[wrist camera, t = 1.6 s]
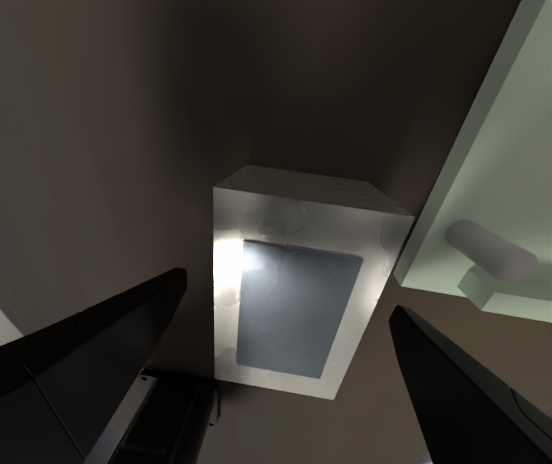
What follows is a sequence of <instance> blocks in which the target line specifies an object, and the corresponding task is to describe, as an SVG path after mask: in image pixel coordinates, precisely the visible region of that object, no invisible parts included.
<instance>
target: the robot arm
mask: <svg viewBox="0 0 552 464" xmlns="http://www.w3.org/2000/svg"><path fill="white" fill-rule="evenodd" d="M186 288H187V271H186V269H184V268H177V267H176V268H174V269H171V270H169V271H167V272H165V273H163V274H161V275H158V276H156V277H154V278H152V279H150V280H148V281H146V282H143V283H141V284H139V285H137V286H135V287H133V288H130V289H128V290H126V291H124V292H122V293H120V294H118V295H115V296H113V297H111V298H109V299H107V300H105V301H102V302H100V303H98V304H96V305H94V306H92V307H89V308H87V309H85V310H83V311H82V312H79V313H76V314H74V315H72V316H70V317H68V318H66V319H63V320H61V321H59V322H57V323H54V324H52V325H50V326H48V327H46V328H43V329H41V330H38V331H36V332H34V333H31V334H29V335H26V336H24V337H22V338H19V339H17V340H14V341H12V342H10V343H7V344H5V345H2V346H0V464H84V460H86V458H87V457H88V455H89V454H90V452H91V450H92V449H93V447H94V446H95V444H96V442H97V441H98V439H99V437H100V436H101V434H102V433H103V431H104V429H105V428H106V426H107V424H108V423H109V421H110V420H111V418H112V416H113V415H114V413H115V411H116V410H117V408H118V407H119V405H120V403H121V402H122V400H123V398H124V397H125V395H126V394H127V392H128V390H129V389H130V387H131V385H132V384H133V382H134V381H135V379H136V377H137V376H138V374H139V372H140V371H141V369H142V368H143V366H144V364H145V363H146V361H147V359H148V358H149V356H150V355H151V353H152V351H153V350H154V348H155V346H156V345H157V343H158V342H159V340H160V338H161V337H162V335H163V333H164V332H165V330H166V329H167V327H168V325H169V324H170V322H171V320H172V318H173V316H174V314H175V312H176V310H177V308H178V305H179V303H180V301H181V299H182V297H183V295H184V293H185V291H186ZM389 326H390V331H391V335H392V339H393V343H394V347H395V352H396V356H397V360H398V363H399V366H400V369H401V372H402V375H403V378H404V381H405V384H406V387H407V390H408V393H409V395H410V398H411V401H412V404H413V407H414V410H415V413H416V416H417V419H418V422H419V425H420V428H421V430H422V433H423V436H424V439H425V442H426V445H427V448H428V451H429V454H430V457H431V460H432V462H433V464H552V419H551V418H550V417H549V416H547V415H546V414H545V413H543V412H542V411H541V410H539V409H538V408H537V407H536V406H534V405H533V404H532V403H530V402H529V401H528V400H526V399H525V398H524V397H523V396H521V395H520V394H519V393H518V392H516V391H515V390H514V389H512V388H510V387H509V386H508V385H507V384H506V383H505V382H504V381H502V380H501V379H500V378H498V377H497V376H496V375H495V374H493V373H492V372H491V371H489V370H488V369H487V368H486V367H484V366H483V365H482V364H481V363H479V362H478V361H477V360H475V359H474V358H473V357H472V356H470V355H469V354H468V353H467V352H465V351H464V350H463V349H461V348H460V347H459V346H458V345H456V344H455V343H454V342H453V341H451V340H450V339H449V338H447V337H446V336H445V335H444V334H442V333H441V332H440V331H439V330H437V329H436V328H435V327H433V326H432V325H431V324H430V323H428V322H427V321H426V320H425V319H423V318H422V317H421V316H419V315H418V314H417V313H416V312H414V311H413V310H412V309H411V308H409V307H407V306H402V305H397V306H396V307H395V309H394V311H393V313H392V315H391V316H390V319H389ZM138 379H139V383H140V387H141V390H142V394H143V398H144V399H143V401H142V403H141V404H140V406H139V408H138V410H137V411H136V413H135V415H134V417H133V418H132V420H131V422H130V424H129V425H128V427H127V429H126V430H125V432H124V434H123V436H122V438H121V439H120V441H119V443H118V444H117V446H116V448H115V450H114V451H113V453H112V455H111V457H110V458H109V460H108V462H107V464H196V462H197V459H198V456H199V452H200V449H201V446H202V443H203V439H204V436H205V433H206V429H207V427H216V426H217V422H218V403H219V385H218V384H217V383H214V382H210V381H204V380H199V379H193V378H188V377H182V376H177V375H171V374H166V373H160V372H155V371H149V370H142V371H141V373H140V375H139V376H138Z"/></svg>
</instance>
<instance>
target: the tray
mask: <svg viewBox="0 0 552 464" xmlns="http://www.w3.org/2000/svg"><path fill="white" fill-rule="evenodd" d="M393 275H394V277H395V278H396V280H397V281H398V283H399V284H400V286H403V287H409V288H415V289H421V290H427V291H433V292H439V293H445V294H451V295H457V296H463V297H468V298H469V299H470V300H471V301H472V302H473V303H474V304H475V305H476V306H477V307H478V308H479V309H480V310H481V311H487V312H493V313H499V314H505V315H511V316H517V317H523V318H529V319H535V320H541V321H547V322H552V0H521V2H520V4H519V6H518V8H517V11H516V13H515V15H514V17H513V19H512V21H511V23H510V25H509V28H508V30H507V32H506V34H505V36H504V38H503V40H502V42H501V45H500V47H499V49H498V51H497V53H496V55H495V57H494V59H493V62H492V64H491V66H490V68H489V70H488V72H487V74H486V76H485V79H484V81H483V83H482V85H481V87H480V89H479V91H478V93H477V96H476V98H475V100H474V102H473V104H472V106H471V108H470V110H469V113H468V115H467V117H466V119H465V121H464V123H463V125H462V128H461V130H460V132H459V134H458V136H457V138H456V140H455V142H454V145H453V147H452V149H451V151H450V153H449V155H448V157H447V159H446V162H445V164H444V166H443V168H442V170H441V172H440V174H439V176H438V179H437V181H436V183H435V185H434V187H433V189H432V191H431V193H430V196H429V198H428V200H427V202H426V204H425V206H424V208H423V210H422V213H421V215H420V217H419V219H418V221H417V223H416V225H415V227H414V230H413V232H412V234H411V236H410V238H409V240H408V242H407V244H406V247H405V249H404V251H403V253H402V255H401V257H400V259H399V261H398V264H397V266H396V268H395V270H394V272H393Z"/></svg>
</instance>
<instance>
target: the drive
mask: <svg viewBox="0 0 552 464" xmlns="http://www.w3.org/2000/svg"><path fill="white" fill-rule="evenodd" d="M414 219H415V217H414V216H413V215H412V214H410V213H409V212H408V211H406V210H405V209H404V208H402V207H401V206H400V205H398V204H397V203H396V202H394V201H393V200H392V199H390V198H389V197H388V196H386V195H385V194H383V193H382V192H381V191H379V190H378V189H377V188H375V187H374V186H373V185H371V184H370V183H369V182H366V181H359V180H352V179H345V178H338V177H331V176H324V175H317V174H310V173H303V172H296V171H289V170H282V169H275V168H268V167H261V166H254V165H246V166H244V167H243V168H241V169H240V170H238V171H237V172H235V173H234V174H232V175H231V176H229V177H228V178H226V179H225V180H223V181H222V182H220V183H219V184H217V185H216V186H214V187H213V230H214V348H215V379H219V380H225V381H231V382H236V383H242V384H247V385H253V386H259V387H264V388H270V389H275V390H281V391H287V392H292V393H298V394H303V395H309V396H314V397H320V398H326V399H331V400H334V398H335V395H336V393H337V391H338V389H339V386H340V384H341V382H342V380H343V377H344V375H345V373H346V371H347V369H348V366H349V364H350V362H351V360H352V357H353V355H354V353H355V351H356V348H357V346H358V344H359V342H360V339H361V337H362V335H363V333H364V330H365V328H366V326H367V324H368V322H369V319H370V317H371V315H372V313H373V310H374V308H375V306H376V304H377V301H378V299H379V297H380V295H381V292H382V290H383V288H384V286H385V284H386V281H387V279H388V277H389V275H390V272H391V270H392V268H393V266H394V263H395V261H396V259H397V257H398V254H399V252H400V250H401V248H402V245H403V243H404V241H405V239H406V237H407V234H408V232H409V230H410V228H411V225H412V223H413V221H414Z"/></svg>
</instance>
